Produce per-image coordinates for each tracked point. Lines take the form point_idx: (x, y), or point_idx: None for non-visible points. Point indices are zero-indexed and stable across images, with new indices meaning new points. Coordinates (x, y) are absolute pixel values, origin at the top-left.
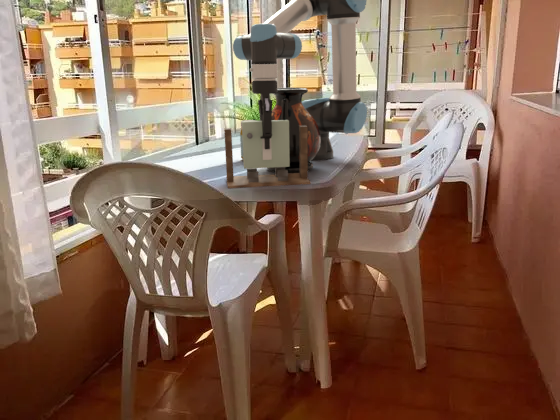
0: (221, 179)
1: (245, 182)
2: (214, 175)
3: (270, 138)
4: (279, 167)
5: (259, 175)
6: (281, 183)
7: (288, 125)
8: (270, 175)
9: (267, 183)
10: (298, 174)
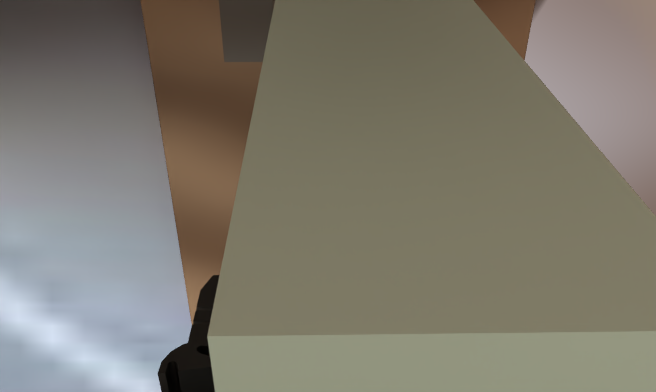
0: (143, 355)
1: None
2: (19, 387)
3: None
4: (257, 20)
5: (183, 158)
6: (531, 11)
7: (635, 215)
8: (193, 70)
9: None
10: None
